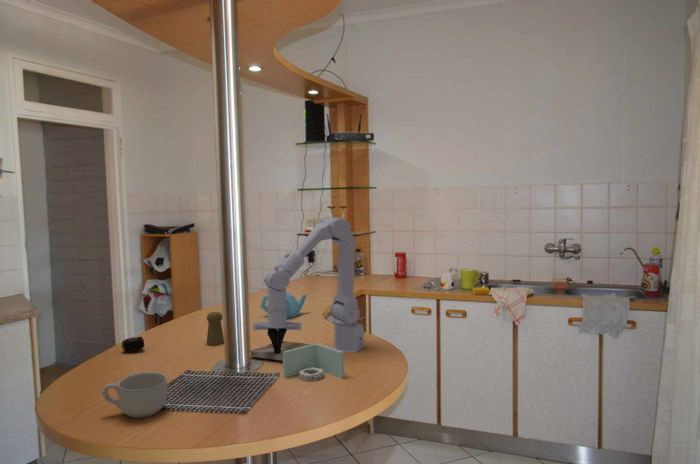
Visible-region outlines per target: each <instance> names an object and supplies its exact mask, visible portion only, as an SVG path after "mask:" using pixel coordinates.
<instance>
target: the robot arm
mask: <svg viewBox="0 0 700 464" xmlns="http://www.w3.org/2000/svg"><path fill="white" fill-rule="evenodd" d="M325 240H326V241H327V240H331V241H333V242H334V243H335V244H336V245H337V246H338V249H337V250H338V255H337V282H336V283H337V284H336V293H335V295H333V301H332V304H331V306H330V314H331V316H332V318H333V325H334V327H333V329H334V331H333V333H334V346H333V347H332V348H333V349H336V350H339V351H343V352H347V353H357V352H359V351H360V350H362V349H363V348H365V347H364V346H365V328H364V325H363V324H360V323H358V322H357V321H358V320H359V318H360V315H361V311H360V309H359V306H358V305H359V303H358V302H359V301H358V300H357V298H356V296H355V294H354V290H355V289H354V282H355V260H356V259H355V255H356V240H355V237H354V234H353V232H352V229H351V223H350V222H348V221H347V220H346V219H345V218H343V217H332V216H331V217H329V216H325V217H323V218H322V219H321V220H320V221H319V222H317V223H316V224H315V226H314V228H313V229H312V231H311V232H310V233H309V234H308V235H307V237H306V238H305V239H304V240H303V241H302V242H301V244H300V245H299V246H298V247H297V248H296V250H295V251H291V250H290V251H289V252H285V254H284V255H283V256H284V258H282V260H280V262H278V264H277V265H274V266H273V268H274V269H272V270H269V271H267V273H266V274H265V278H264V279H263V282H264V284H265V286H266V288H267V299H268V300H267V299H266V300H267V307H268V313H267V321H263V322H262V321H261V322H254V323H253V324H252V326H253V327H252V330H253V331H258V330H259V331H264V330H266V331H267V332H266V333H267V336H268V338H269V340H270V341H271V344H272V345H273V348H274V353H276V354H280V352H281V345H282V342H283V341H284V338H285V335H286V333H287V331H288V330H289V331H290V330H291V331H292V330H297V331H301V330H302V322H295V321H294V322H293V321H287V317H286V293H287V288H288V287H289V285H290V280H291V279H292V277H293V276H294V275H295V274H296V273H297V271H299V269H300V268H302V267H303V265H304V263H305V261H304V259H305V257H307V256H308V254H309V253H311V251H312V250H314V249H315V248H316V246H317V245H319V244H320V242H322V241H325ZM277 342H278V344H277Z"/></svg>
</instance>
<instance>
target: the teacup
mask: <svg viewBox="0 0 700 464" xmlns="http://www.w3.org/2000/svg"><path fill="white" fill-rule="evenodd" d="M167 383H168V376H167V375H166V374H164V373H161V372H156V371H146V372H144V371H143V372H138V373H133V374H129V375H127V376H124V377H123V378H121V379H120V380H119V381H118V382H117V383H116V382H115V383H114V382H111V383H110V382H109V383H107V384H105V386H104V388H103V390H102V396H103V398H104V400H106V402H108V403H111V404H112V405H114V406H116V407H117V408H120V411H121V412H122V413H124V414H125V415H127V416H129V418H133V419H141V418H147V417H151V416H153V415H156V414H157V413H159V411H160V410H161V409H163V407H164V406H165V404H166V403H167V397H168V387H167V386H168V384H167ZM109 389H114V390H115V391H116V394H117V395H118V399H116V398H113V397H112V396H110V395H109V393H108V390H109Z"/></svg>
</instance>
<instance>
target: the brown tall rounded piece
mask: <svg viewBox="0 0 700 464" xmlns="http://www.w3.org/2000/svg"><path fill="white" fill-rule="evenodd" d="M206 320H207V322H208V324H207V335H206V336H207V337H206V346H208V347H219V346H218V345H220V346H222V345H221V344H223V345H224V344H225V338H224V333H223V326H222V320H223V314H222V313H221V312H220V311H212V312H209V313H208V314H207V315H206Z"/></svg>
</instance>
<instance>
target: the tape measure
mask: <svg viewBox="0 0 700 464" xmlns="http://www.w3.org/2000/svg"><path fill="white" fill-rule="evenodd" d="M144 339H145V338H143V337H142V336H136V337H135V336H134V337H129V338H125V339H123V340H122V342H121V349H122V350H123V351H125V352H129V353H130V352H132V351H136V350H140V349H143V348H144V347H145V341H144Z"/></svg>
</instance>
